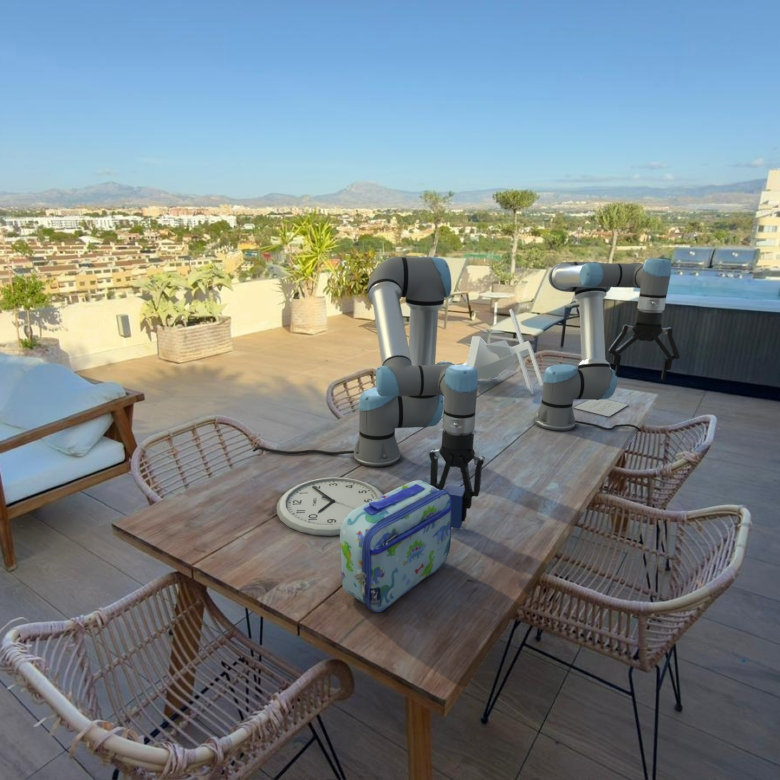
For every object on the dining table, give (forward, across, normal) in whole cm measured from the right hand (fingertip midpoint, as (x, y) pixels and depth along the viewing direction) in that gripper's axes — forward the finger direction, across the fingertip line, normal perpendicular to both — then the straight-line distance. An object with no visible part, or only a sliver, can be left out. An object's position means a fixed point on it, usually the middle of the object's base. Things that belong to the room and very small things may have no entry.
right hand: (639, 377), depth 167 cm
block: (+26, -46, -62) cm, 82 cm away
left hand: (+25, -46, -62) cm, 81 cm away
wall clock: (+28, -80, -62) cm, 105 cm away
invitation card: (+28, -5, +54) cm, 62 cm away
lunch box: (+28, -53, -87) cm, 106 cm away
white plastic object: (+28, -52, +66) cm, 89 cm away
